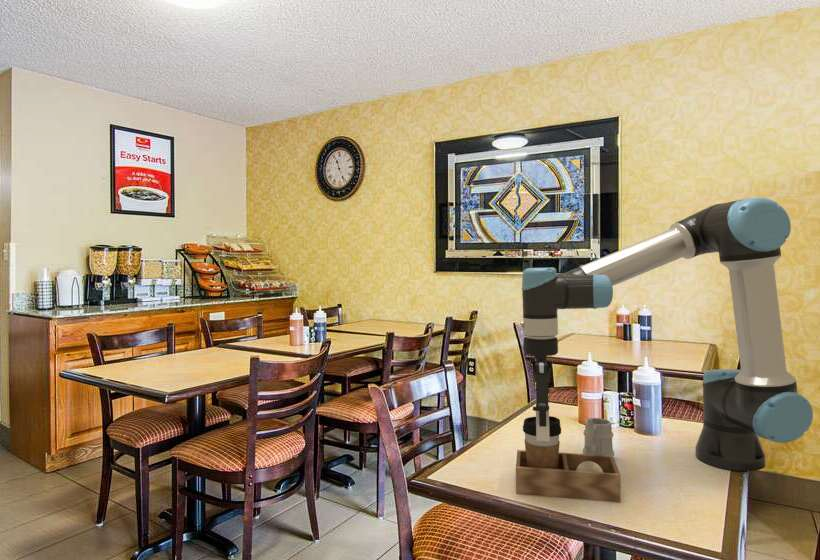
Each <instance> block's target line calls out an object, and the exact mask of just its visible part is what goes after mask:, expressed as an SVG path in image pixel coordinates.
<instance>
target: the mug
mask: <svg viewBox="0 0 820 560" xmlns="http://www.w3.org/2000/svg"><path fill="white" fill-rule="evenodd" d="M584 420H585V421H584V423H585V424H584V430H583V435H584V447H583V448H582V454H591V455H606V456H613V458H614V457H615V451H614V450H613V449H614V448H613V447H614V446H613V436H614V433H613V430H612V422H611V420H609V419H606V418H600V417H590V418H586V419H584Z"/></svg>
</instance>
